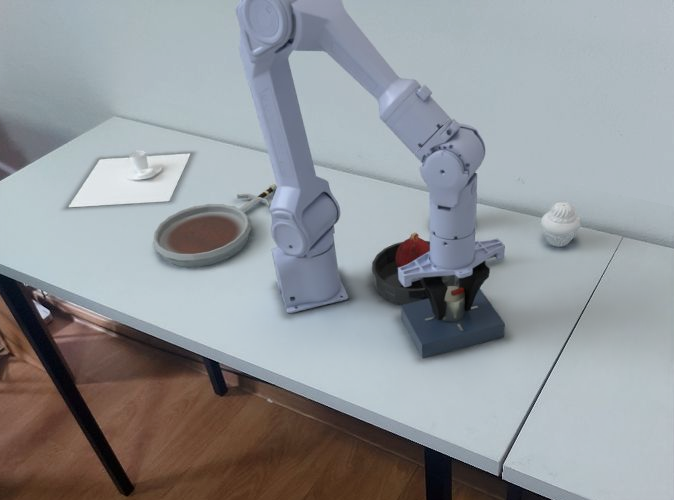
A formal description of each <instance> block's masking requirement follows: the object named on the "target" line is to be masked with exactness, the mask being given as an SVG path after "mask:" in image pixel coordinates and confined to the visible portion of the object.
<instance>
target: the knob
mask: <svg viewBox="0 0 674 500" xmlns="http://www.w3.org/2000/svg"><path fill="white" fill-rule="evenodd" d="M447 287H448V289H447V292H446V295H445V300H444V318H443V320H444V321H448V322H455V321H459V320H461V319H462V318H463V317H464V314H465V292H464V289H463V288H462V287H461V288H459V286H457V285H456V286H447Z"/></svg>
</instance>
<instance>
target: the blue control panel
mask: <svg viewBox="0 0 674 500" xmlns="http://www.w3.org/2000/svg"><path fill="white" fill-rule="evenodd" d="M400 319H401V320H402V323H403V324H404V326H405V328H406V330H407V332H408V334H409V335H410V338H411V339H412V342H413V343H414V345H415V347H416V349H417V351H418V353H419V354H420V357H421V359H425V358H428V357H432V356H436V355H439V354H444V353H447V352H451V351H456V350H459V349H463V348H467V347H470V346H474V345H477V344H481V343H485V342H489V341H493V340H497V339H500V338H504V337H505V328H506V327H505V326H506V323H505V321H504V319H502V317H501V316H500V314H499V313H498V311H497V310H496V309H495V307H494V306H493V304H492V303H491V302H490V300H489V298H488V297H487V296H486V294H485V293H484V292H483V291H482V289H481V287H480V288H479V290H478V292H477V294H476V296H475V299H474V301H473V304H472V307H471V310H470V311H466V310H465V314H464V317H463V318H462V319H461V320H459V321H455V322H448V321H444V320H443V319H442V320H438V319H437V318H436V316H435V315H434V314H433V311H432V307H431V303H430V300H429V298H428V299H424V300H420V301H416V302H412V303H408V304H404V305H400Z"/></svg>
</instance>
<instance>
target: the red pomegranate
mask: <svg viewBox="0 0 674 500" xmlns="http://www.w3.org/2000/svg"><path fill="white" fill-rule="evenodd" d="M419 236H420V235H419V233H417V232H413V233H411V234H410V237H409V238H407V239H405V240H404V241H402V242H403V243H402V244H401V245H400V246H399V247H398V249H397V253H396V257H395V261H396V265H397V268H399V267H402V266H405V265H407V264H409V263H411V262H412V261H414V260H416V259H417V258H419V257H421V256H422V255H424V254H426V253H427V252H429V251H430V245H429V244H428V243H427V242H426V241H427V240H425V239H423V238H422V237H421V238H420V237H419Z"/></svg>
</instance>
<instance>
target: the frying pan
mask: <svg viewBox="0 0 674 500" xmlns="http://www.w3.org/2000/svg"><path fill="white" fill-rule="evenodd" d="M276 189H277V184H274V183H270V184H269V187H268V188H267V189H266V190H263V192H262V193H260V194H259V195H255V194H251V193H237V194H236V198H237V200H238V199H250V200H249V201H247V202H246V203H244V204H243V205H242V206H240V207H239V208H238V207H236V206H234V205H229V204H223V203H206V204H199V205H193V206H191V207H188V208H184V209H182V210H181V209H180V210H179V211H177V212H175V213H173V214H171V215H169V216H168V217H167V218H165V219H164V220H163V221H161V222H160V223H159V224H158V226H157V228H156V229H155V231H154V233H153V238H152V245H153V247H154V249H155V251H156V252H157V253H159V254H160V255H161V257H162V258H163V259H164V260H166V261H167V262H169V263H170V264H173V265H176V266H181V267H185V268H186V267H187V268H188V267H191V268H192V267H193V268H194V267H195V268H196V267H197V268H198V267H205V266H210V265H211V266H212V265H214V264H217V263H220V262H223V261H225V260H228V259H230V258H231V257H233V256H234V255H236V254H238V253H239V252H240V251H241V250H242V249H243V248H244V247H245V246H246V245H247V242H248V240H249V237H250V232H251V229H252V223H251V219H250V218H249V217H248V215H247V214H246V213H245V212H246V211H248V210H249V209H251V208H252V207H254V206H255V205H256V204H258V203H259V202H260V203H263V204H266V206H267V208H268V209H269V210H270V206H271V204H270V202H269V200H268V199H267V198H266V197H267V196H269V195H270V194H271V193H275V192H276Z"/></svg>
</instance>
